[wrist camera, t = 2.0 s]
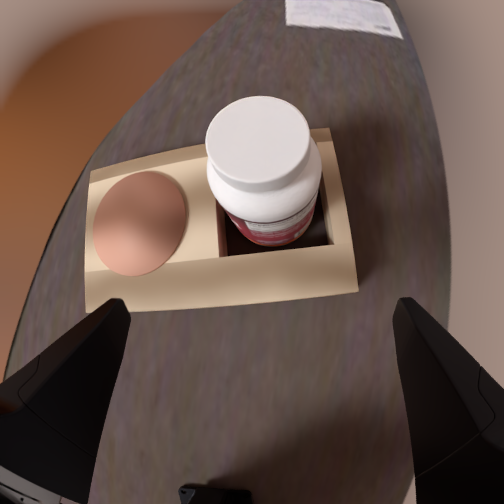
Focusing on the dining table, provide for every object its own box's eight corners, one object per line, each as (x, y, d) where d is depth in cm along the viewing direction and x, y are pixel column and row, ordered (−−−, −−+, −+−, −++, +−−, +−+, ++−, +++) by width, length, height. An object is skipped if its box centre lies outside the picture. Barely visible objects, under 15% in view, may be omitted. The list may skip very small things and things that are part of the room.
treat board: (349, 293, 21) (359, 291, 18) (106, 312, 23) (83, 312, 20) (325, 147, 23) (329, 125, 20) (108, 183, 26) (89, 170, 22)
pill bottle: (230, 179, 24) (188, 95, 13) (306, 168, 23) (312, 75, 13) (237, 254, 23) (190, 209, 12) (318, 243, 22) (341, 188, 11)
